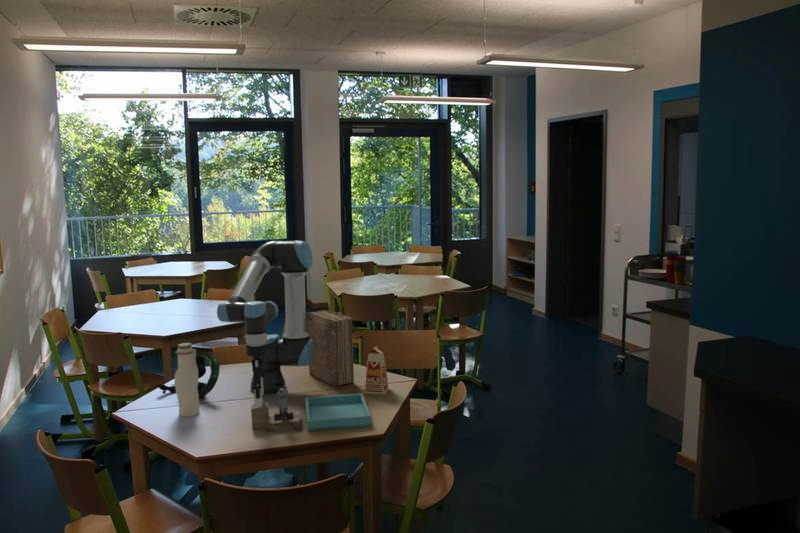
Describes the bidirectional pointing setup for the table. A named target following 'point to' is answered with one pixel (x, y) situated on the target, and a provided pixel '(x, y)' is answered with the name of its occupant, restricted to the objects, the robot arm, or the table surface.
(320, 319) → the book
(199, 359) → the headset
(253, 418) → the tan blocky piece
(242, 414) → the table surface
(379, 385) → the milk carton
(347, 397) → the tray
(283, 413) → the dark grey rod
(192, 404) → the water bottle
